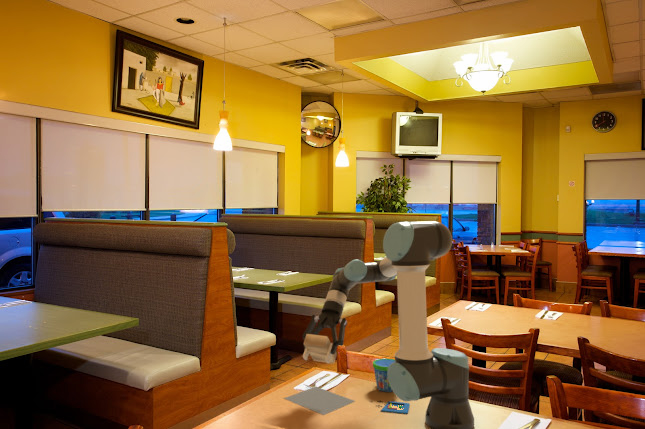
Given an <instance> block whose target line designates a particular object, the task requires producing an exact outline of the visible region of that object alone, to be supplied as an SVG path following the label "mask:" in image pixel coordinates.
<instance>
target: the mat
mask: <svg viewBox="0 0 645 429" xmlns="http://www.w3.org/2000/svg"><path fill="white" fill-rule="evenodd" d="M283 399H285V400H287V401H289V402H291V403H293V404H296V405H298V406H301V407H303V408H305V409H308V410H310V411H313V412H315V413H317V414H319V415H321V416H325V415H327V414H330V413H331V412H332V413H333V412H334V411H337V410H338V409H341V408H344V407H346V406H347V405H350V404H353V403H355V402H356V400H354V399H351V398H348V397H345V396H343V395H340V394H337V393H335V392H331V391H329V390H326V389H323V388H321V387H318V386H314V387H313V386H312V387H309V388H308V389H305V390H302V391H300V392H296V393H295V394H292V395H289V396H287V397H284V398H283Z"/></svg>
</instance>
